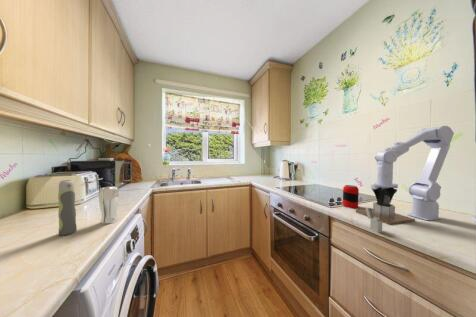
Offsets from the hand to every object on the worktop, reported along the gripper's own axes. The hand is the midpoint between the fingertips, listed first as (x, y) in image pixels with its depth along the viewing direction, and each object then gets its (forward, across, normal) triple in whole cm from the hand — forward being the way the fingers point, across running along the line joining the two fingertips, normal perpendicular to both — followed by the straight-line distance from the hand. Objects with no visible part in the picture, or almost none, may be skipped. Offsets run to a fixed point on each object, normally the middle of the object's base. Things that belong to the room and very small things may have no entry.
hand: (383, 203), depth 85 cm
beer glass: (+7, +127, -22) cm, 129 cm away
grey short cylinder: (+1, 0, 0) cm, 1 cm away
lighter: (+7, +19, +10) cm, 23 cm away
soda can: (+7, +2, -17) cm, 18 cm away
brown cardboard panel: (+7, 0, 0) cm, 7 cm away
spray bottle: (+7, +137, -13) cm, 138 cm away
